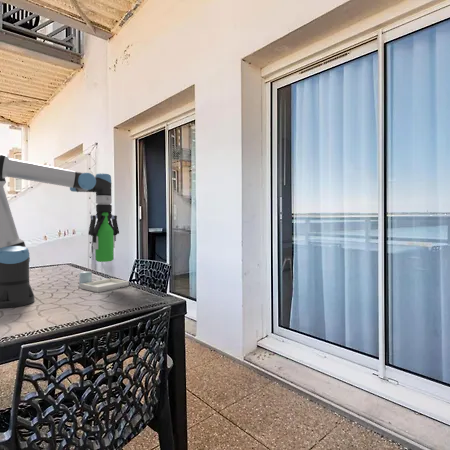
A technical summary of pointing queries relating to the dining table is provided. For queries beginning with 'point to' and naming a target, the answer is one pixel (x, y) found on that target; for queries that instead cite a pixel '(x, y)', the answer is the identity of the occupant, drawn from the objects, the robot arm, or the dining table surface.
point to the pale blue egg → (85, 277)
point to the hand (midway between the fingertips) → (104, 248)
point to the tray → (104, 285)
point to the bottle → (105, 242)
